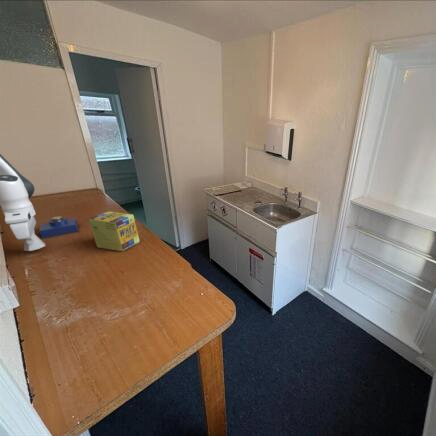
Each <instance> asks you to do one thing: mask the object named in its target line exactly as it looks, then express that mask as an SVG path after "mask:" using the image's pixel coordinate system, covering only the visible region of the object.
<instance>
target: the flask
mask: <svg viewBox="0 0 436 436" xmlns="http://www.w3.org/2000/svg"><path fill="white" fill-rule="evenodd" d="M34 232H35V231H34ZM34 232H33V233H32V235H31V238H32V239H33V241H34V242H33V244H27V241H26V240H24V242H23V243H24V244H23V251H27V252H31V251H32V252H33V251H35V250H39V249H42V248H45V247H46V243H45V241H43V240H42V239H40V238H39V236H37V234H36V233H35V234H34Z"/></svg>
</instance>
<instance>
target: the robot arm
mask: <svg viewBox="0 0 436 436" xmlns="http://www.w3.org/2000/svg"><path fill="white" fill-rule="evenodd" d="M34 193H35V185H34V184H33V182H31V181H30V180H29V179H28V178H26V177H25V176H24V175H23V174H21V173H20V172H19V171H18V170H17V169H16V168H15V167H14V166H13V165H12V164H11V163H10V162H9V161H8V160H7V159H6V158H5V156H4V155H2V154H1V153H0V207H1V210H2V212H3V213H2V214H3V215H4V222H5V224H6V225H8V226H9V228H10V230H11V232H12V233H13V236H14V237H15V238H16V239H17V240H18V241H25V240H26V241H27V244H33V242H34V241H33V239H32V238H31V235H32V233H33V232H34V234H35V235H36V232H35V228H36V225H37V220H36V218H35V216H36V214H37V213H36V210H35V207H34V205H33V202H31V200H30V198H32V196H33V195H34Z"/></svg>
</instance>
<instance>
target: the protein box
mask: <svg viewBox="0 0 436 436" xmlns="http://www.w3.org/2000/svg"><path fill="white" fill-rule="evenodd" d="M87 221H88V222H89V225H90V229H91V232H92V236H93V238H94V242H95V245H96V248H100V249H105V250H110V251H111V250H113V251H118V252H125V251H127V250H128V249H130V248H132V247H133V246H135V245H137V244H139V243H140V237H139V232H138V228H137V225H136V219H135V216H134V214H132V213H124V212H116V211H115V212H114V211H106V212H103V213H101V214H98V215H95V216H92V217H90V218H88V220H87Z"/></svg>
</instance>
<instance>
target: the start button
mask: <svg viewBox="0 0 436 436" xmlns="http://www.w3.org/2000/svg"><path fill="white" fill-rule="evenodd" d="M62 218H63V216H61V215H59V216H54V217H51V220H52V221H53V222H56V221H61V220H63V219H62Z"/></svg>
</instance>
